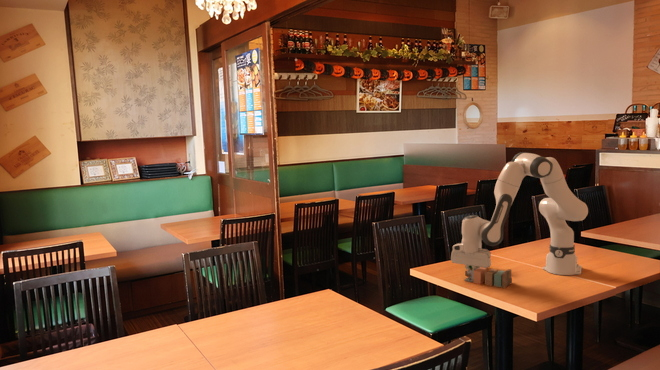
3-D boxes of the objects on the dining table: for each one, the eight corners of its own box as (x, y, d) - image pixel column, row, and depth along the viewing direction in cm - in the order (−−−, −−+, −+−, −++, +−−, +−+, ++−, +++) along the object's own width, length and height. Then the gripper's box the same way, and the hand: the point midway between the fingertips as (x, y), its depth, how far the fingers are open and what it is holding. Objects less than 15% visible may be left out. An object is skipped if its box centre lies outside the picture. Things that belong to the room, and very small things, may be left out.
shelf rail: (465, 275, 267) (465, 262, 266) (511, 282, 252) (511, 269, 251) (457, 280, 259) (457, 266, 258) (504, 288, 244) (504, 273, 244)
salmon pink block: (479, 278, 261) (479, 267, 260) (486, 279, 259) (486, 268, 258) (473, 282, 255) (473, 270, 254) (480, 283, 252) (480, 271, 252)
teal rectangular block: (500, 282, 254) (500, 270, 254) (507, 283, 252) (507, 271, 251) (494, 286, 248) (494, 274, 247) (501, 287, 246) (501, 275, 245)
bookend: (470, 277, 263) (470, 265, 263) (479, 278, 260) (479, 267, 260) (464, 280, 258) (464, 269, 257) (473, 282, 255) (473, 270, 254)
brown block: (491, 280, 257) (491, 269, 256) (497, 281, 255) (497, 270, 254) (484, 284, 251) (485, 272, 250) (491, 285, 249) (491, 273, 248)
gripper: (493, 248, 254) (492, 275, 256) (454, 243, 267) (455, 269, 268) (488, 250, 249) (488, 278, 251) (449, 245, 262) (449, 272, 264)
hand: (470, 273), depth 260 cm, fingers closed
